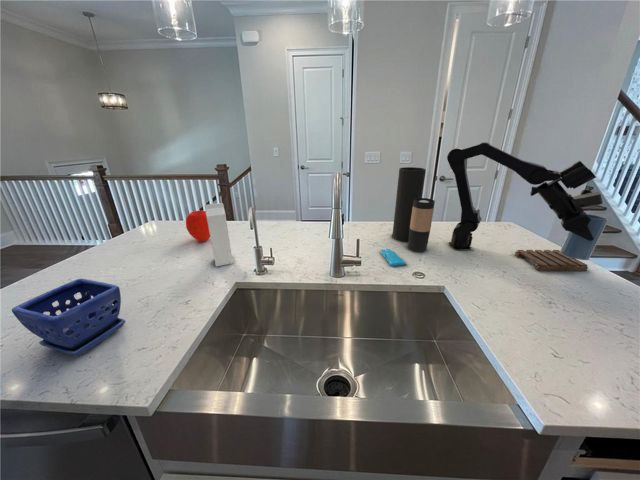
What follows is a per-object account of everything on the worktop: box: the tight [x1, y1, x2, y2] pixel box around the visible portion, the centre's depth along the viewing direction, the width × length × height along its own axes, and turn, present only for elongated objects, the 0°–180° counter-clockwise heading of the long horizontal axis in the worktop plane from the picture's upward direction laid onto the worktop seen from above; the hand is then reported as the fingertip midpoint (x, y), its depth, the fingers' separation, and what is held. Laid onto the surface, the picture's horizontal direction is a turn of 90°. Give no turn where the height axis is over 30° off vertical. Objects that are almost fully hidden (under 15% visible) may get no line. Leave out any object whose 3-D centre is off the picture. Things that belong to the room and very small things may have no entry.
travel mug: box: [407, 197, 436, 253], centre depth 101 cm, size 8×8×20 cm
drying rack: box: [514, 249, 589, 272], centre depth 92 cm, size 16×12×2 cm
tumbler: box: [559, 213, 609, 261], centre depth 84 cm, size 7×7×14 cm
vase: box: [391, 166, 427, 243], centre depth 111 cm, size 10×10×30 cm
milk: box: [204, 202, 234, 267], centre depth 92 cm, size 6×6×22 cm
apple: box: [185, 210, 211, 242], centre depth 114 cm, size 12×12×13 cm
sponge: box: [380, 248, 406, 267], centre depth 97 cm, size 2×12×6 cm
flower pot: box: [11, 278, 126, 357], centre depth 59 cm, size 13×13×12 cm
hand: (589, 236), depth 83 cm, fingers closed on tumbler, 7 cm apart
